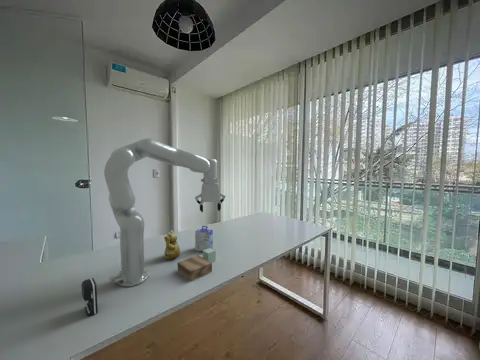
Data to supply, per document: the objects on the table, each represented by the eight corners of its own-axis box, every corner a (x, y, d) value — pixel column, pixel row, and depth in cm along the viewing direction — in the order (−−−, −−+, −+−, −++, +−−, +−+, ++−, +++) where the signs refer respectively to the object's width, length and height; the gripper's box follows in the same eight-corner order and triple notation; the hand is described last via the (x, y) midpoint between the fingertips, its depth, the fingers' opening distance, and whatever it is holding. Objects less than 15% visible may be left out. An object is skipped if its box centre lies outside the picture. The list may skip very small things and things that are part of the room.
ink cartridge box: (213, 248, 135) (213, 226, 133) (210, 252, 129) (210, 228, 128) (198, 247, 137) (198, 224, 135) (194, 250, 131) (194, 227, 130)
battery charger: (82, 308, 80) (80, 279, 79) (94, 304, 82) (92, 275, 81) (85, 319, 75) (83, 287, 74) (98, 313, 77) (96, 283, 76)
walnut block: (191, 281, 99) (190, 271, 98) (177, 272, 107) (177, 262, 107) (211, 272, 107) (211, 262, 107) (198, 263, 116) (198, 255, 115)
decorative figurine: (168, 253, 127) (167, 228, 126) (182, 253, 127) (181, 228, 126) (162, 261, 118) (161, 234, 116) (177, 261, 118) (177, 234, 116)
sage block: (208, 264, 115) (208, 253, 114) (202, 261, 118) (202, 250, 118) (215, 261, 118) (215, 250, 118) (209, 258, 122) (209, 247, 121)
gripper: (195, 182, 114) (195, 213, 116) (227, 181, 120) (226, 211, 121) (193, 180, 121) (194, 210, 123) (223, 180, 127) (223, 208, 128)
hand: (210, 211), depth 122 cm, fingers open, 9 cm apart
